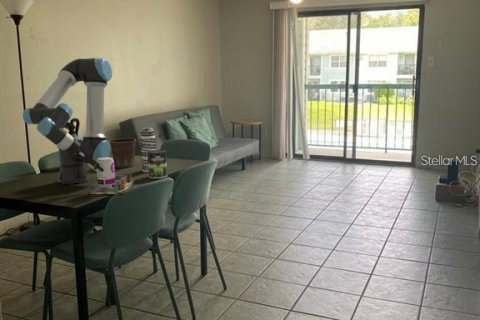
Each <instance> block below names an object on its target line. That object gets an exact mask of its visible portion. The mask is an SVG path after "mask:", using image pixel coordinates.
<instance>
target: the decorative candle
mask: <svg viewBox="0 0 480 320" xmlns="http://www.w3.org/2000/svg"><path fill="white" fill-rule="evenodd" d="M155 136H156V135H155V129H154V128H153V127H152V126H151V127H148V126H147V127H142V128H141V130H140V139H139V140H140V147H141V148H140V151H141V158H142V159H141V163H142V165H141V166H142V172H143V173H148V156H147V152H148V151H151V150H157V147H156V146H157V141H156V140H157V138H156V137H155Z"/></svg>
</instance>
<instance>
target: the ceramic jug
mask: <svg viewBox="0 0 480 320" xmlns="http://www.w3.org/2000/svg"><path fill="white" fill-rule="evenodd" d="M74 123H75V125H74ZM80 125H81V123H80V119H78V118H77V117H74V118H70V120H69V121H68V122H67V124H66V125H65V127H64V128H63V129H67V130H68V132H67V133H68V134H70V135H71V136H72V137H73V138H76V137H79V130H80Z"/></svg>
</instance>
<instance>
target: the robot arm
mask: <svg viewBox="0 0 480 320" xmlns="http://www.w3.org/2000/svg"><path fill="white" fill-rule="evenodd" d="M112 77H113V71H112V67H111V64H110V63H109V61H108V60H107V59H106V58H103V57H93V58H92V57H91V58H89V57H88V58H76V59H73V60H72V61H70V62H69V63H67V64H66V65H64V66H63V67H62V68H61V69H60V71H59V72H58V73H57V77H56V78H55V79H54V81H53V83H52V84H51V85H49V87H48V88H47V90H46V91H45V92H44V94H42V96H41V97H40V98H39V99H38V101H37V102H36V103H35V105H33V107H28V108H25V109H24V110H23V112H22V120H23V121H24V123H26V124H28V125H35V126H36V130H37V131H38V132H39V133H40V134H41V135H42V136H43V137H45V139H47V140H48V141H50V142H51V143H53V145H55V146H56V149H57V150H58V154H59V155H58V156H59V165H60V169H59V174H58V178H57V180H58V181H57V182H59V183H63V184H62V185H65V184H69V185H75V184H74V183H79V184H83V183H82V182H84V183H87V182H89V176H88V172H87V170H86V168H85V164H87V165H88V167H90V168H92V170H94V171H95V172H96V173H97V171H99V172H100V173H101V174H102V175H104V176H105V177H107V176H108V175H109V174H110V172H108V171H107V170H106V169H105V168H103V167H102V166H101V165H100V164H99V163H97V162H96V161H97V159H98V158H102V157H110V155H111V152H112V149H111V146H110V143H109V140H107V137H106V136H105V134H104V117H105V115H104V114H105V112H104V110H105V108H104V107H105V88H106V87H107V86H108V82H110V81H111V80H112ZM79 82H83V85H85V87H86V119H85V124H86V125H85V134H84V135H83V136H82V137H81V136H78V137H76V138H73V137H72V136H71V135H70V134H68V133H69V132H68V131H66V130H65V128H64V127H65V125H66V124H67V122H70V120H71V117H72V115H73V108H72V107H71V106H70V105H69V104H67V103H63V102H61V103H59V102H60V101H61V100H62V99H63V97H65V94H66V93H67V92H68V90H69V89H70V88H71V87H73V86H75V85H76V84H77V83H79ZM86 181H87V182H86ZM59 183H58V184H59Z"/></svg>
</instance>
